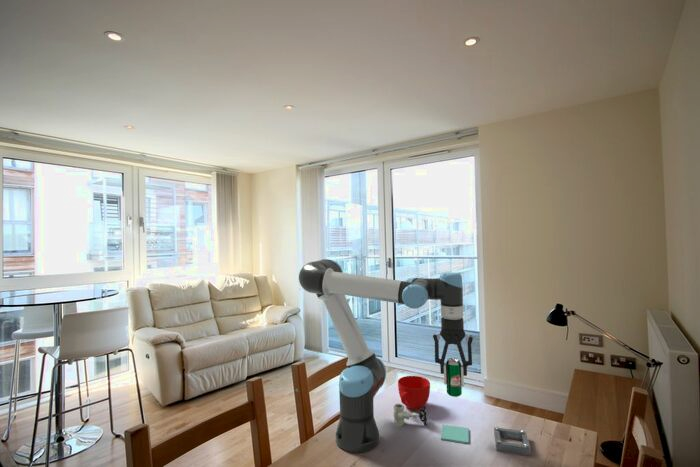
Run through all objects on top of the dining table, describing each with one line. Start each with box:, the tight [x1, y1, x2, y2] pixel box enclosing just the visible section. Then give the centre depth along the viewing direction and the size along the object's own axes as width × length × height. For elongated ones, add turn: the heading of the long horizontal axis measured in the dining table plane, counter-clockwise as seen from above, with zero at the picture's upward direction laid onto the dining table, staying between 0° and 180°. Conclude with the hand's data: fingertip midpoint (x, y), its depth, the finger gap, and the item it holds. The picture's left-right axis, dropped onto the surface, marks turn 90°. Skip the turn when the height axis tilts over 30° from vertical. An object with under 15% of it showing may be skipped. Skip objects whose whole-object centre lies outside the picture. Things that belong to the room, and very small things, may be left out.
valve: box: [392, 403, 428, 427], centre depth 133 cm, size 7×7×12 cm
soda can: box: [445, 357, 463, 398], centre depth 125 cm, size 5×5×12 cm
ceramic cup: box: [397, 375, 431, 411], centre depth 145 cm, size 13×17×10 cm
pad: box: [440, 424, 470, 445], centre depth 125 cm, size 9×9×1 cm
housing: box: [493, 426, 532, 457], centre depth 119 cm, size 10×10×3 cm
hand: (454, 383), depth 125 cm, fingers closed on soda can, 5 cm apart
